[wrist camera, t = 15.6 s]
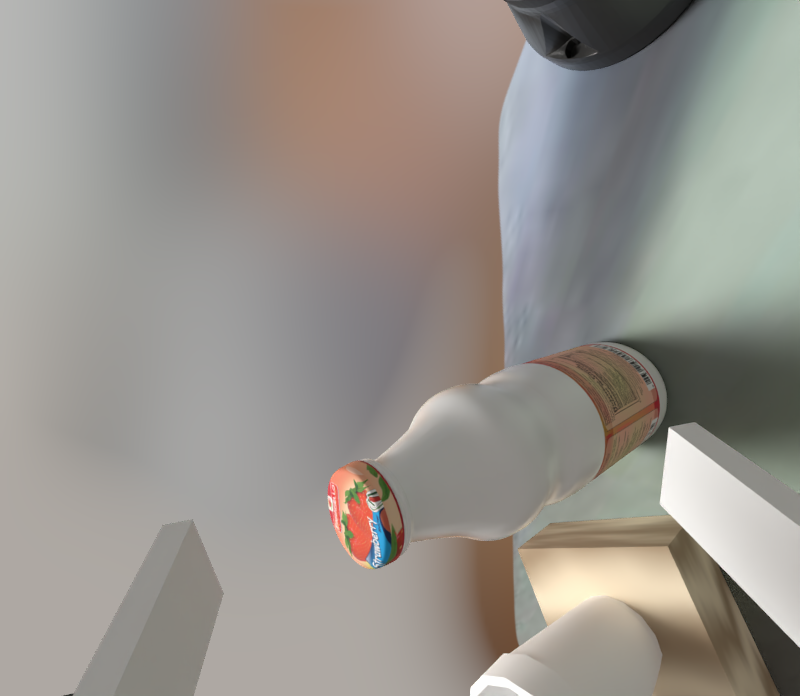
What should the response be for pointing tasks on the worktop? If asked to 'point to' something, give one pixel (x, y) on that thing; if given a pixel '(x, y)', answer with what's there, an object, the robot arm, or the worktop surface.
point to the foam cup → (581, 656)
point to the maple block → (653, 598)
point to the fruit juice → (498, 451)
